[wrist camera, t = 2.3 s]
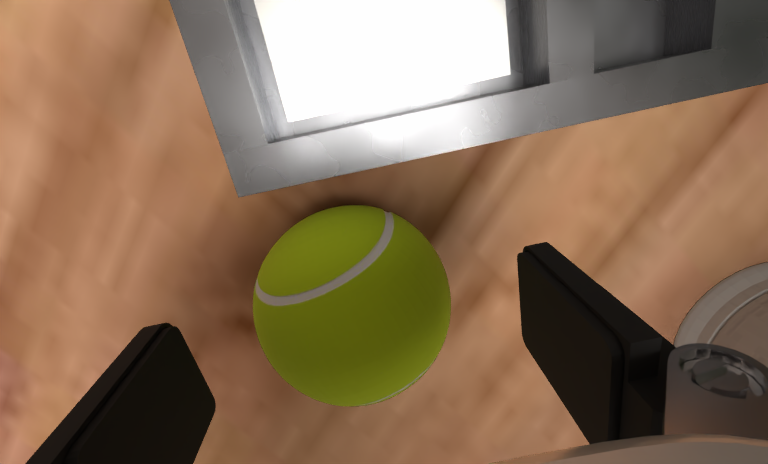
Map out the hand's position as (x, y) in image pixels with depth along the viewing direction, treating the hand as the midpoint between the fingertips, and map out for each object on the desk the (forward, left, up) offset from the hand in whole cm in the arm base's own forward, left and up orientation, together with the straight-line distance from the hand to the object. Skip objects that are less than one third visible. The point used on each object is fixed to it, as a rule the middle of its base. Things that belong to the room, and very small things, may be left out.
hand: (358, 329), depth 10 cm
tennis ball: (-1, 0, -7) cm, 7 cm away
